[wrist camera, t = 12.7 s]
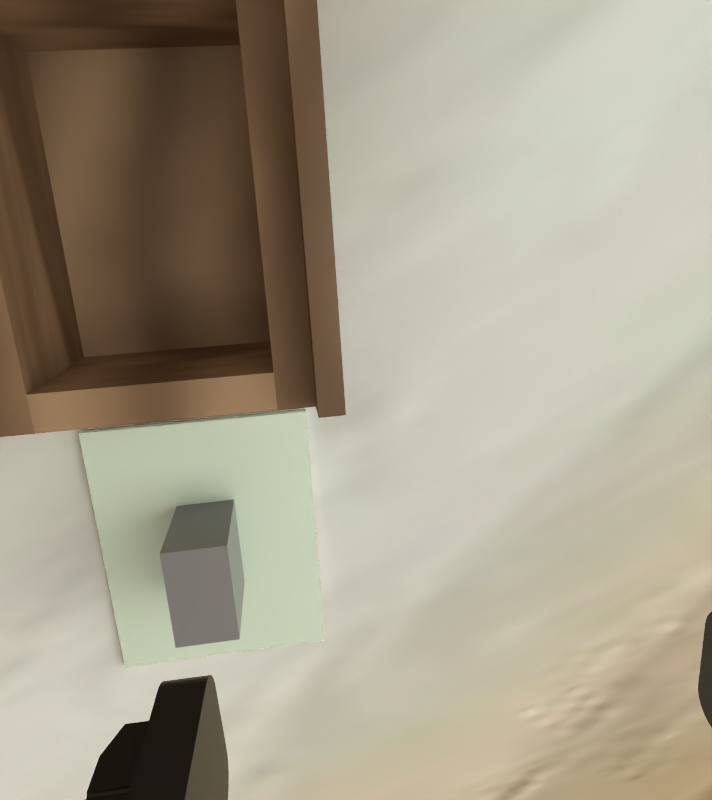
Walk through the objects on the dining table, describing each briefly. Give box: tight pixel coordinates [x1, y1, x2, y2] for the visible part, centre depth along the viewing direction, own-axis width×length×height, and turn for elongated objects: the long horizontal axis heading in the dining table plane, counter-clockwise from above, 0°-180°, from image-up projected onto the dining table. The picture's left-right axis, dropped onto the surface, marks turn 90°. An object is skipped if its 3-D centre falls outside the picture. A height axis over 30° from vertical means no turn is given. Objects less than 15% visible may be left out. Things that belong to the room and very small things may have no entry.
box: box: [0, 0, 346, 437], centre depth 24 cm, size 14×16×10 cm
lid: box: [78, 409, 326, 668], centre depth 31 cm, size 11×14×6 cm
